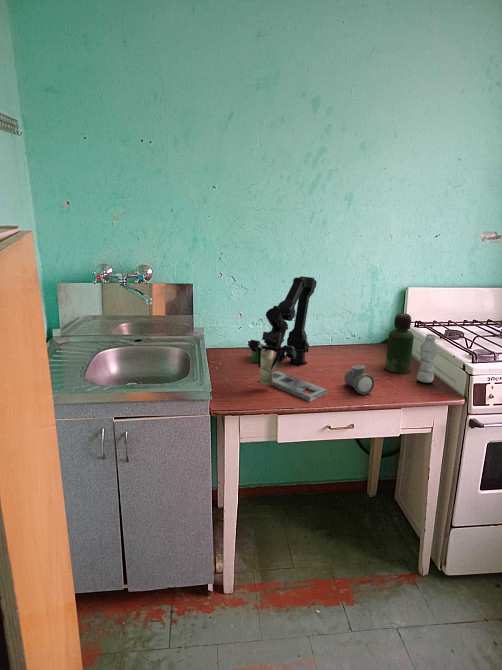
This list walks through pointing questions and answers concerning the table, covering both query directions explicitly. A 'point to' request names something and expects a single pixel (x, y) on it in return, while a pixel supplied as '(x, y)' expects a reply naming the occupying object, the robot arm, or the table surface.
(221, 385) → the table surface
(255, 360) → the clamp
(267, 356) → the pin
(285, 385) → the grey slotted plate
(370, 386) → the pipe fitting
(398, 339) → the green bottle
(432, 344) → the plastic bottle
